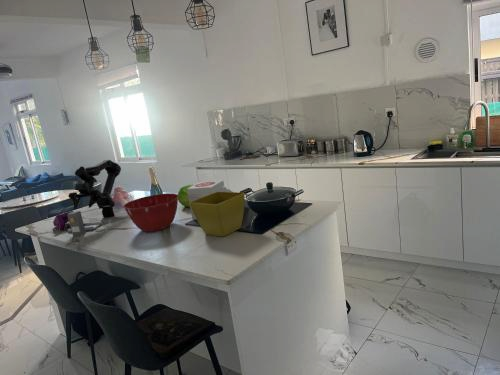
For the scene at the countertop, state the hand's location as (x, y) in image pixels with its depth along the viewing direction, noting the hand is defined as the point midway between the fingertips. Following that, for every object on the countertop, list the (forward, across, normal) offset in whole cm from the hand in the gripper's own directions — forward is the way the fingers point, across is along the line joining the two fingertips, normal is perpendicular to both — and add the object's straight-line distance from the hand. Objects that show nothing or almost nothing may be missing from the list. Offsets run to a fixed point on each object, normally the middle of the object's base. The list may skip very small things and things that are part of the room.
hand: (82, 208), depth 213 cm
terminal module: (+15, 0, +4) cm, 15 cm away
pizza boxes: (+4, +77, +15) cm, 78 cm away
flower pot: (+26, +87, -7) cm, 91 cm away
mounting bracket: (+1, -23, +18) cm, 29 cm away
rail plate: (+7, -3, +11) cm, 14 cm away
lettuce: (-10, +58, +28) cm, 65 cm away
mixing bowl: (+15, +47, +4) cm, 49 cm away
